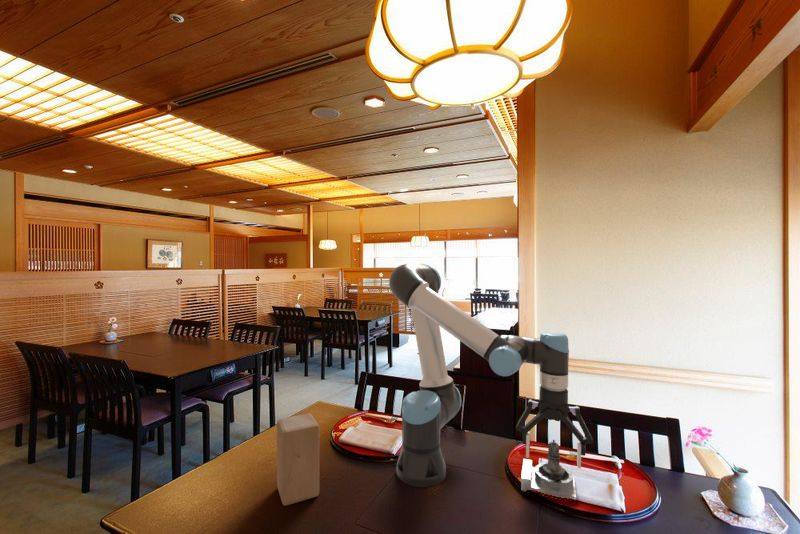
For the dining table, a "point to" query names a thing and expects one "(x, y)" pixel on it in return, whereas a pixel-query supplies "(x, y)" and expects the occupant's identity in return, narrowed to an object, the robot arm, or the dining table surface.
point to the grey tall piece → (553, 463)
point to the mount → (546, 481)
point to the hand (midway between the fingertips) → (552, 460)
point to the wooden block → (297, 458)
